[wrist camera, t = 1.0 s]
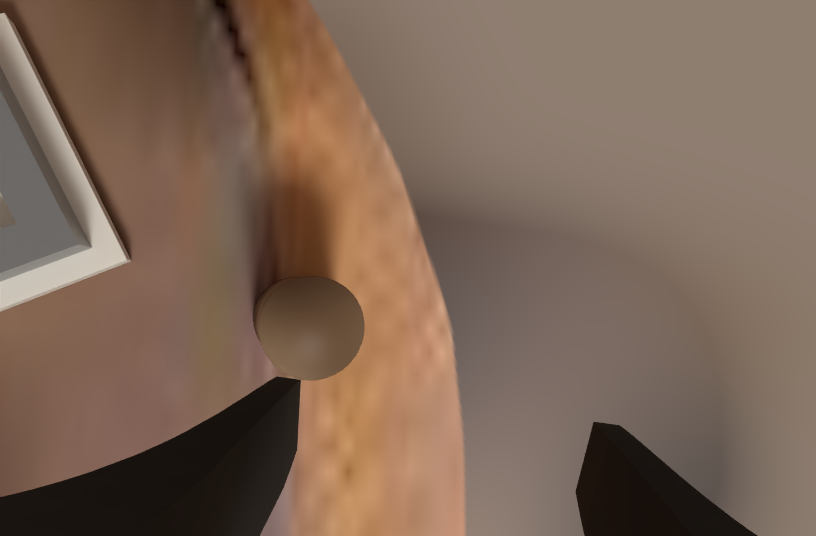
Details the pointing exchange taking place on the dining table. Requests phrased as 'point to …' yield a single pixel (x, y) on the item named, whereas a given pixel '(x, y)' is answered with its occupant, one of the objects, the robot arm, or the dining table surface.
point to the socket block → (43, 190)
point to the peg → (309, 326)
